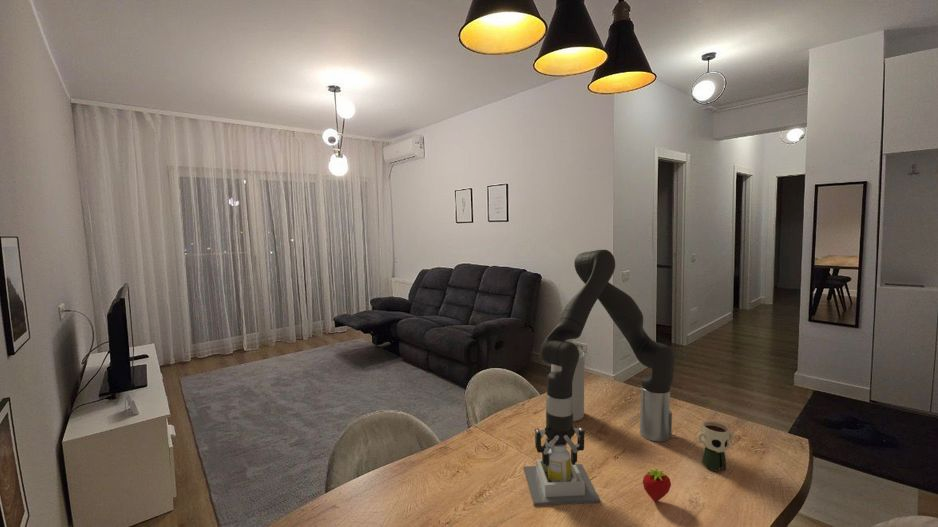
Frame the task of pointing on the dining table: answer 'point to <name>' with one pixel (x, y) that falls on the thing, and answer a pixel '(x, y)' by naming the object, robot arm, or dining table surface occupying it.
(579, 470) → the bottle holder
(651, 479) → the strawberry
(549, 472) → the pill bottle
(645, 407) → the robot arm
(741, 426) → the dining table surface
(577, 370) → the cylinder vase
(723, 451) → the character mug
